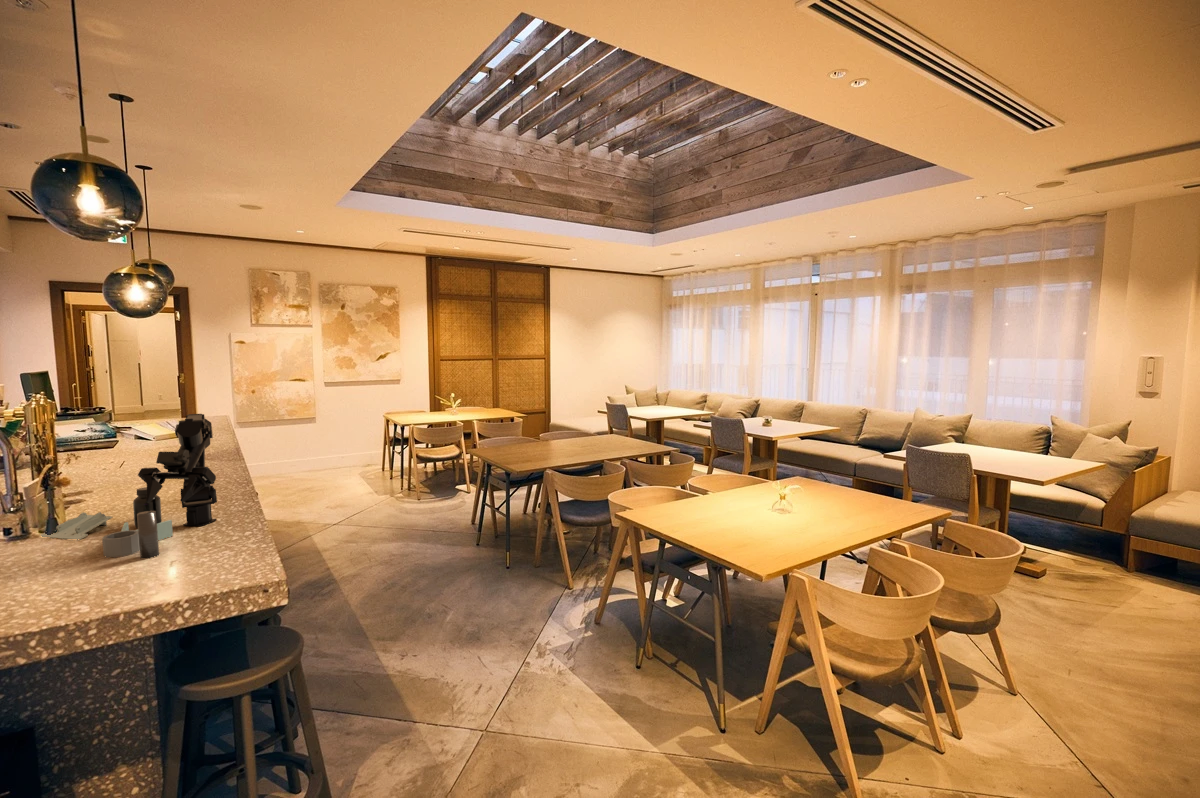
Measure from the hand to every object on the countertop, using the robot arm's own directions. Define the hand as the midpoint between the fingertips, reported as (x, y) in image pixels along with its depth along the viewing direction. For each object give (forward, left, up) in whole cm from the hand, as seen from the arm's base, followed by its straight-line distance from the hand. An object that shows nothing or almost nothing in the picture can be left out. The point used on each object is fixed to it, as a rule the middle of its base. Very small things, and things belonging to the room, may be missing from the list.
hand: (164, 501), depth 159 cm
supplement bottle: (-18, -23, -13) cm, 32 cm away
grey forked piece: (0, -12, -13) cm, 18 cm away
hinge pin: (+7, +1, -13) cm, 15 cm away
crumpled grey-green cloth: (-10, -38, -14) cm, 42 cm away
